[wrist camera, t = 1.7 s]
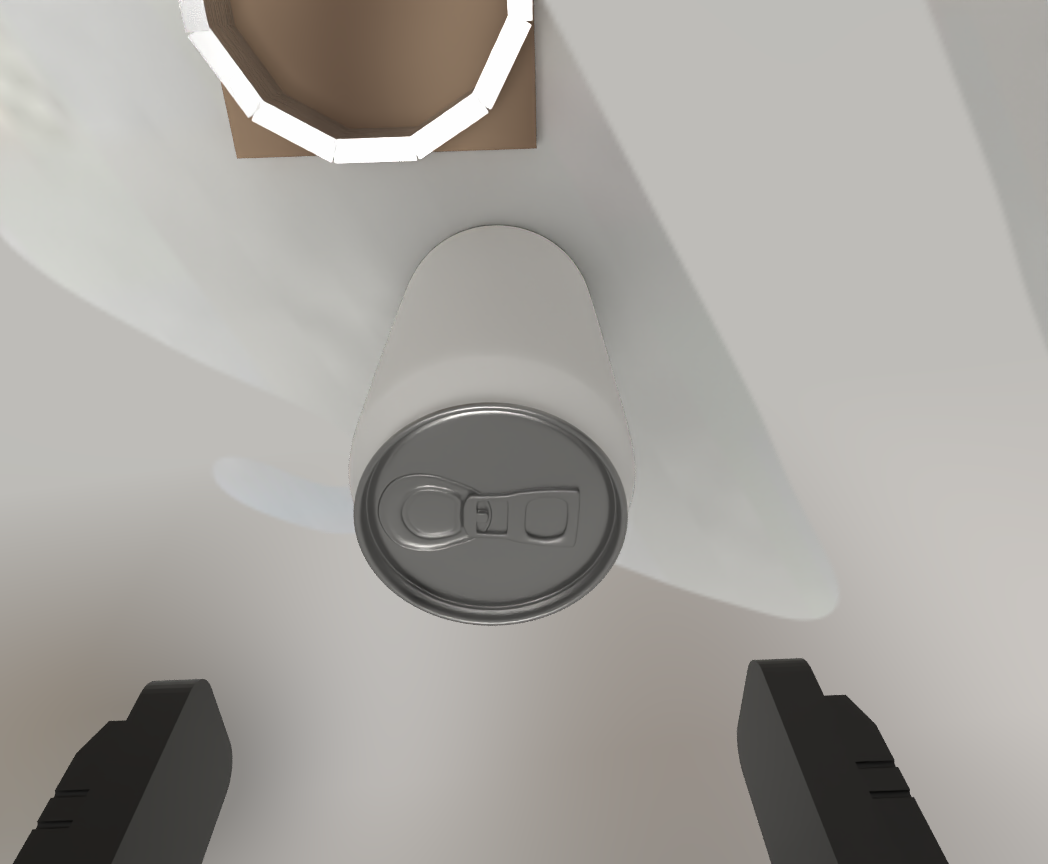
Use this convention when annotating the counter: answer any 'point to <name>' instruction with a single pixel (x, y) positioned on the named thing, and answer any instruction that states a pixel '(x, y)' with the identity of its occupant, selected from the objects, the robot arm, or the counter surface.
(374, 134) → the collar
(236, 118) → the board
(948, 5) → the counter surface
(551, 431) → the can
